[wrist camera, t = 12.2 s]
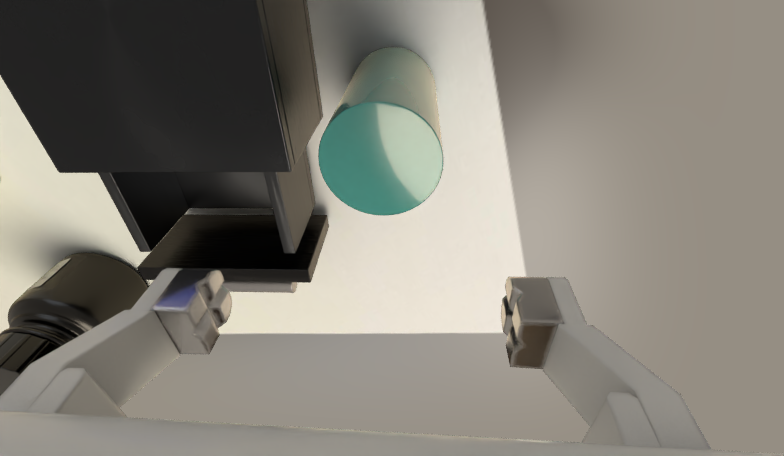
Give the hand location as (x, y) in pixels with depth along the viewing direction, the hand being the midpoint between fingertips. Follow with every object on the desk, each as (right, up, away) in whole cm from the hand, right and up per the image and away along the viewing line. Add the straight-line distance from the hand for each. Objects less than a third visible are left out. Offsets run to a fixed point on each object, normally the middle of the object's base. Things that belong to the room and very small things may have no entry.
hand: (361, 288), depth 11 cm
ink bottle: (-28, -4, +29) cm, 41 cm away
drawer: (-11, +6, +19) cm, 23 cm away
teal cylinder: (+1, +11, +16) cm, 19 cm away
